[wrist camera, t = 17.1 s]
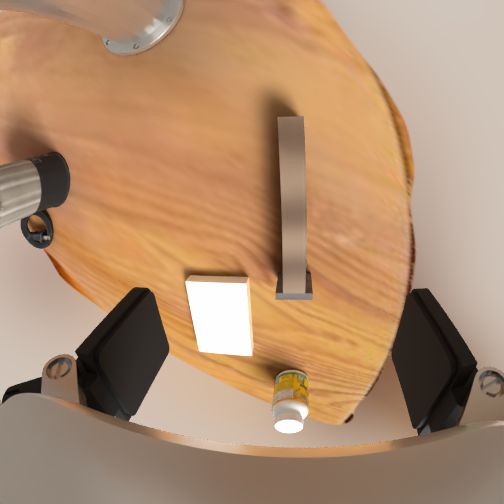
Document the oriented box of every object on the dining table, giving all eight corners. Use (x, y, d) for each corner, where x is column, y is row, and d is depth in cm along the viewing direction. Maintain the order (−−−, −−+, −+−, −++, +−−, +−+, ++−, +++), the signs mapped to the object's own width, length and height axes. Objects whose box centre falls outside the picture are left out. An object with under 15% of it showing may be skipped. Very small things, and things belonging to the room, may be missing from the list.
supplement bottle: (271, 372, 41) (263, 419, 32) (303, 365, 39) (301, 414, 30) (282, 391, 42) (276, 437, 33) (312, 385, 41) (312, 432, 32)
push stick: (272, 122, 27) (268, 117, 23) (309, 121, 27) (312, 116, 22) (278, 278, 34) (275, 299, 30) (310, 278, 34) (312, 299, 29)
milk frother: (68, 145, 32) (-10, 159, 18) (84, 242, 37) (17, 284, 24) (23, 165, 34) (-39, 183, 21) (39, 245, 40) (-17, 278, 26)
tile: (185, 281, 34) (199, 351, 39) (246, 283, 33) (251, 356, 37) (191, 273, 36) (203, 342, 41) (249, 275, 35) (254, 346, 39)
